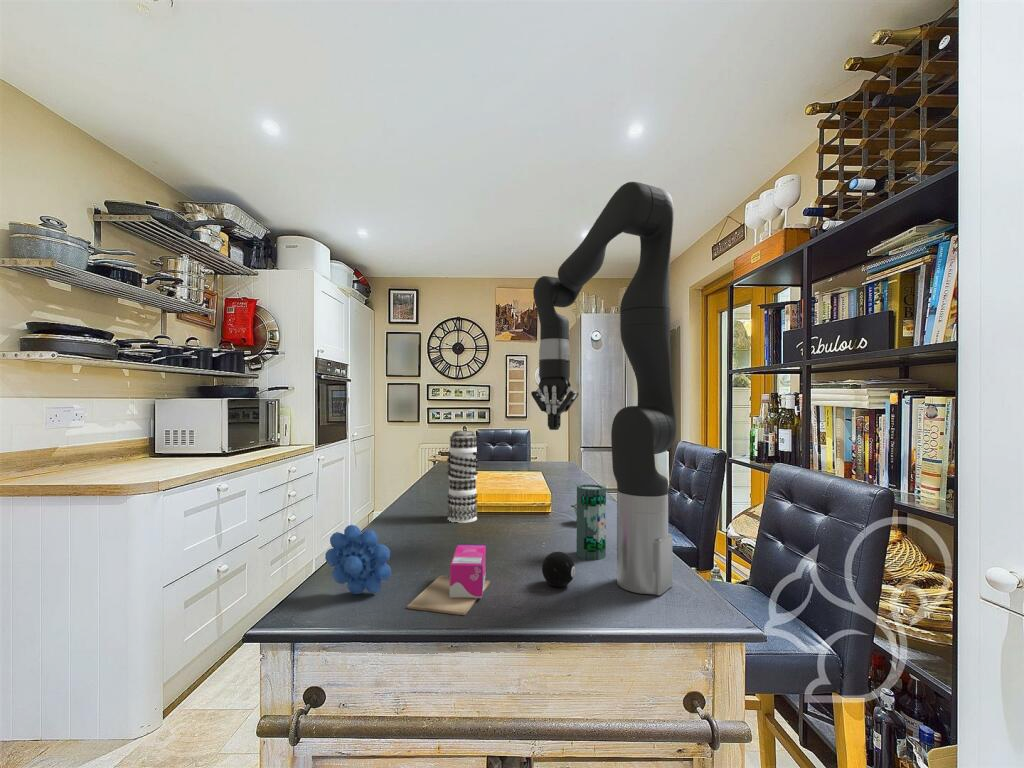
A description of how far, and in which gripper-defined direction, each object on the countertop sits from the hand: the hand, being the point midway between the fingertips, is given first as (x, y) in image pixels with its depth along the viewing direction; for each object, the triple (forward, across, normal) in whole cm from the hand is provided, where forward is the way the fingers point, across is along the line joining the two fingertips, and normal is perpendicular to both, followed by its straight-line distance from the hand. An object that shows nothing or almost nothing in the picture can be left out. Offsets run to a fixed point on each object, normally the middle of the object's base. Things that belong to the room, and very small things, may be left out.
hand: (554, 429), depth 117 cm
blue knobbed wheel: (+27, -8, -49) cm, 57 cm away
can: (+27, +12, -3) cm, 30 cm away
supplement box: (+24, +1, -29) cm, 38 cm away
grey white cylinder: (+27, -32, +1) cm, 42 cm away
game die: (+27, -2, +20) cm, 34 cm away
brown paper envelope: (+27, +4, -38) cm, 47 cm away
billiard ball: (+27, +16, -22) cm, 39 cm away
